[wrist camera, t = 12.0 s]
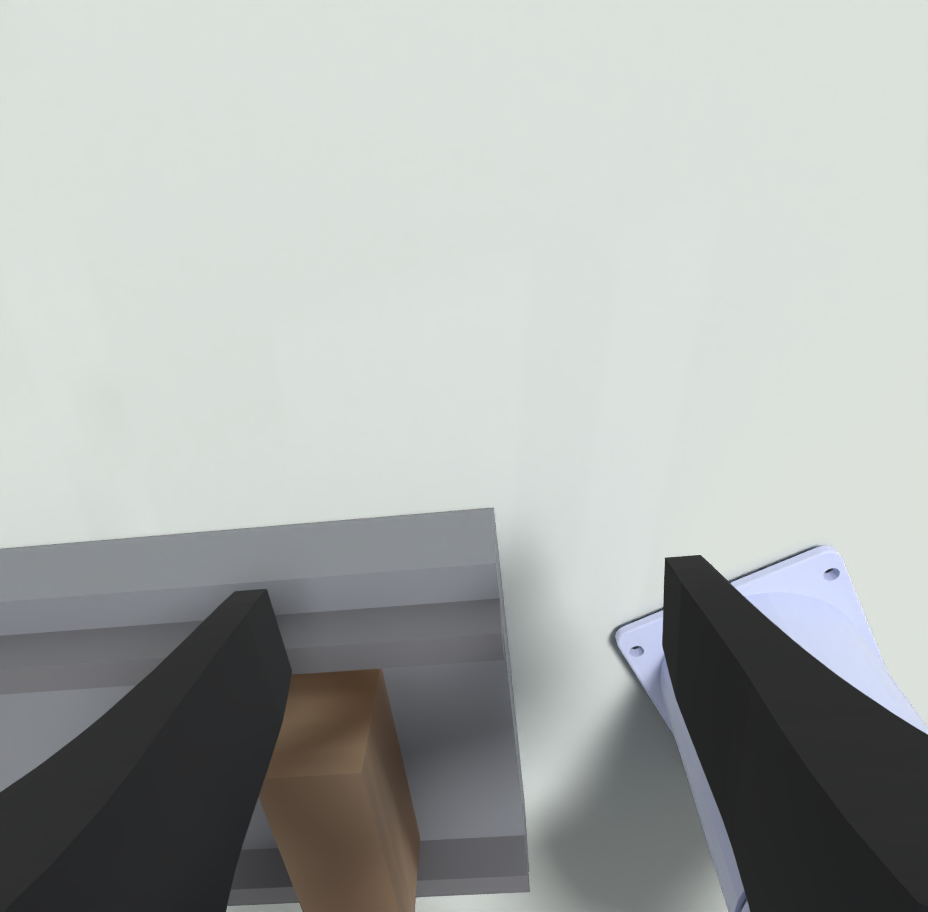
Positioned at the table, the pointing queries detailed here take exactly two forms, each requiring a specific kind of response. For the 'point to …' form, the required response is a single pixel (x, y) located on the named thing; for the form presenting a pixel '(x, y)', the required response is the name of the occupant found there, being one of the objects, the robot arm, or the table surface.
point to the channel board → (295, 662)
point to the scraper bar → (342, 796)
